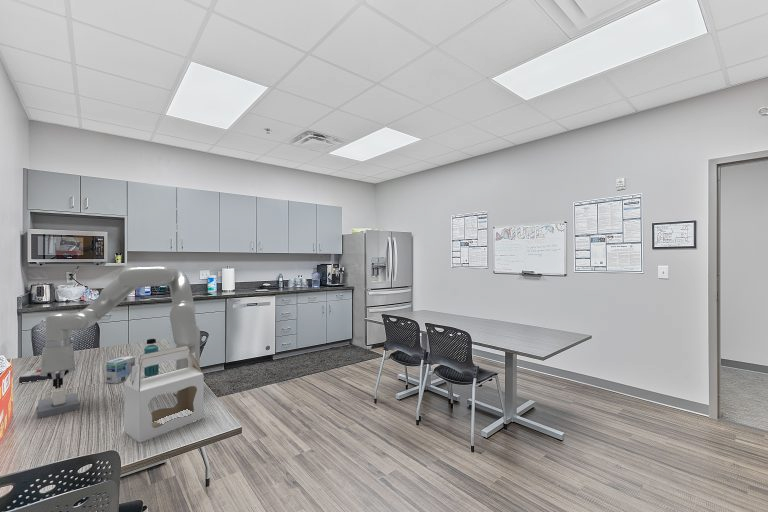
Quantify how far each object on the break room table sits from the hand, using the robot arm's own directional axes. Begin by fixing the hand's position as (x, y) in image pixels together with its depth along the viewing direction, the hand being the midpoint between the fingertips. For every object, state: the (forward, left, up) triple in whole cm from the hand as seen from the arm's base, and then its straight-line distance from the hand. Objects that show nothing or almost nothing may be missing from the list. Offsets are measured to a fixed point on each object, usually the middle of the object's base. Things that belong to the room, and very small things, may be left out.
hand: (57, 387), depth 143 cm
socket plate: (+3, 0, -9) cm, 10 cm away
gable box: (-47, -28, -10) cm, 56 cm away
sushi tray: (+59, +5, -10) cm, 60 cm away
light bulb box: (+26, -24, -10) cm, 37 cm away
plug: (0, 0, -9) cm, 9 cm away
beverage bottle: (+19, -36, -9) cm, 42 cm away
